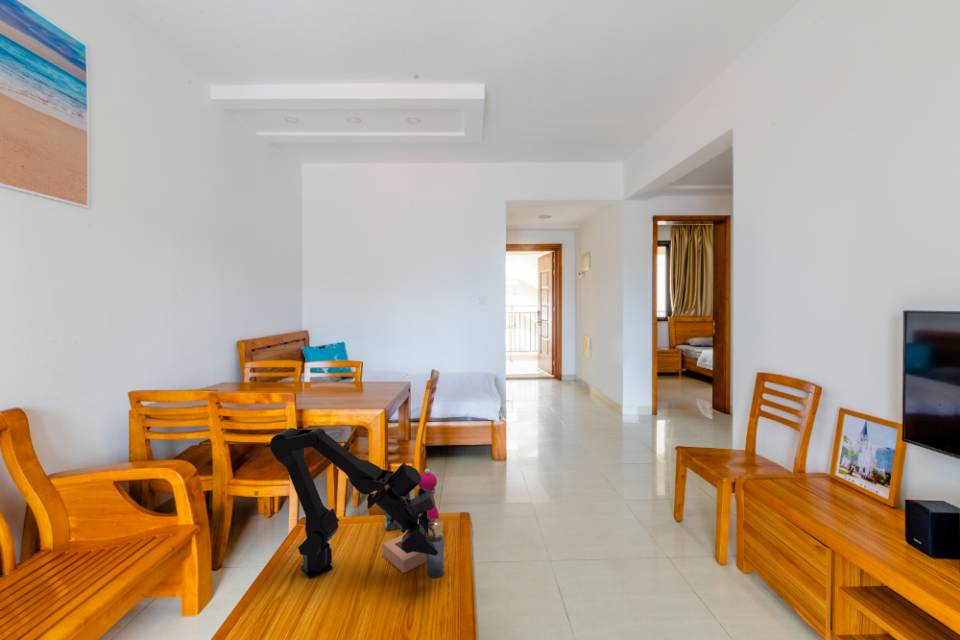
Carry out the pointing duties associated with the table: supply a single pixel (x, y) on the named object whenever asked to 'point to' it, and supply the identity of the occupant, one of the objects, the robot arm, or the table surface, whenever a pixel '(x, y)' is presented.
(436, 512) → the pepper mill
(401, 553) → the socket block
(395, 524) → the coffee box
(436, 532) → the tube
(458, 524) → the table surface
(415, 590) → the table surface
